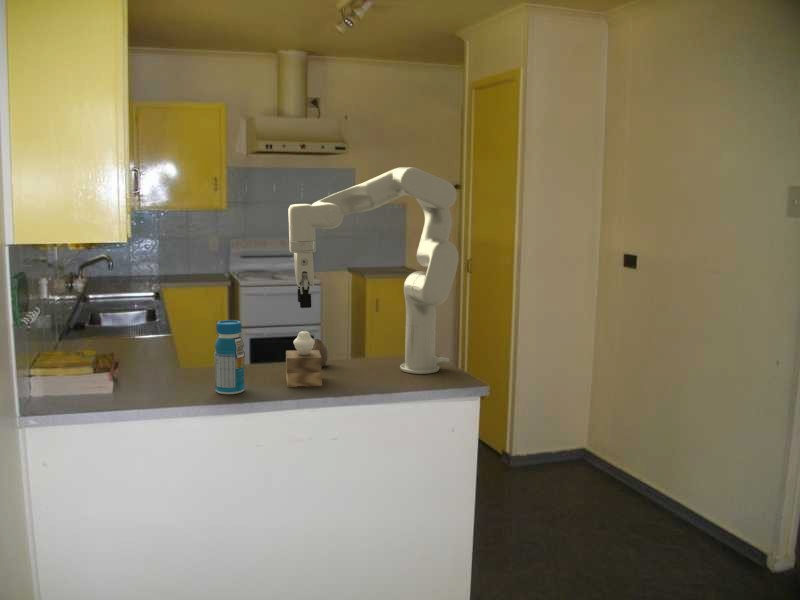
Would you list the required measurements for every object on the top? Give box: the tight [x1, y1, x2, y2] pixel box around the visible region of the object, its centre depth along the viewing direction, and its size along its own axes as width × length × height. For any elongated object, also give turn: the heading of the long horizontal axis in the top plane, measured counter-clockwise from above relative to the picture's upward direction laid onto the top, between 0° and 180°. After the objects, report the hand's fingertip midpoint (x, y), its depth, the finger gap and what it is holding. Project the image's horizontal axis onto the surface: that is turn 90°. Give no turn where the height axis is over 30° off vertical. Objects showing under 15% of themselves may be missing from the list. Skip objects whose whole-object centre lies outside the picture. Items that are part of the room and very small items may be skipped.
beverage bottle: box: [213, 319, 246, 395], centre depth 214 cm, size 8×8×20 cm
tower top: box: [285, 349, 322, 373], centre depth 226 cm, size 10×10×4 cm
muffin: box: [293, 330, 314, 355], centre depth 225 cm, size 6×6×7 cm
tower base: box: [285, 369, 323, 388], centre depth 226 cm, size 10×10×4 cm
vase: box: [312, 338, 329, 368], centre depth 245 cm, size 7×7×9 cm
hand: (304, 304), depth 223 cm, fingers open, 9 cm apart
